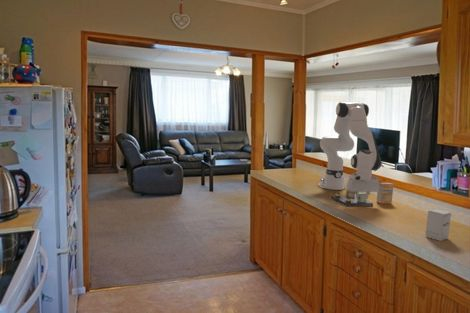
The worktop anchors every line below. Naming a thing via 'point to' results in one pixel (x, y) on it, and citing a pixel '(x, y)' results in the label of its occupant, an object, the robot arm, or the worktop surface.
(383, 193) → the supplement box
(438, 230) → the supplement box
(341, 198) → the plate
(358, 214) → the worktop surface
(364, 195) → the pale green rectangular block
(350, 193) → the beige block
